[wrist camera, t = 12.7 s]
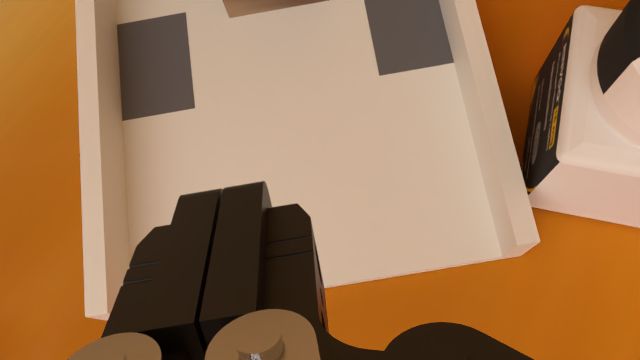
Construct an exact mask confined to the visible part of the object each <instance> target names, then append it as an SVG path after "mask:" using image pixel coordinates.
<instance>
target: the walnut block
mask: <svg viewBox="0 0 640 360" xmlns="http://www.w3.org/2000/svg"><path fill="white" fill-rule="evenodd" d="M222 1H223V4H224V6H225V8H226V11H227V13H228V16H229V18H233V17H239V16H245V15H250V14H256V13H261V12H267V11H273V10H278V9H284V8H289V7H295V6H301V5H306V4H312V3H317V2H323V1H329V0H222Z"/></svg>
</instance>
